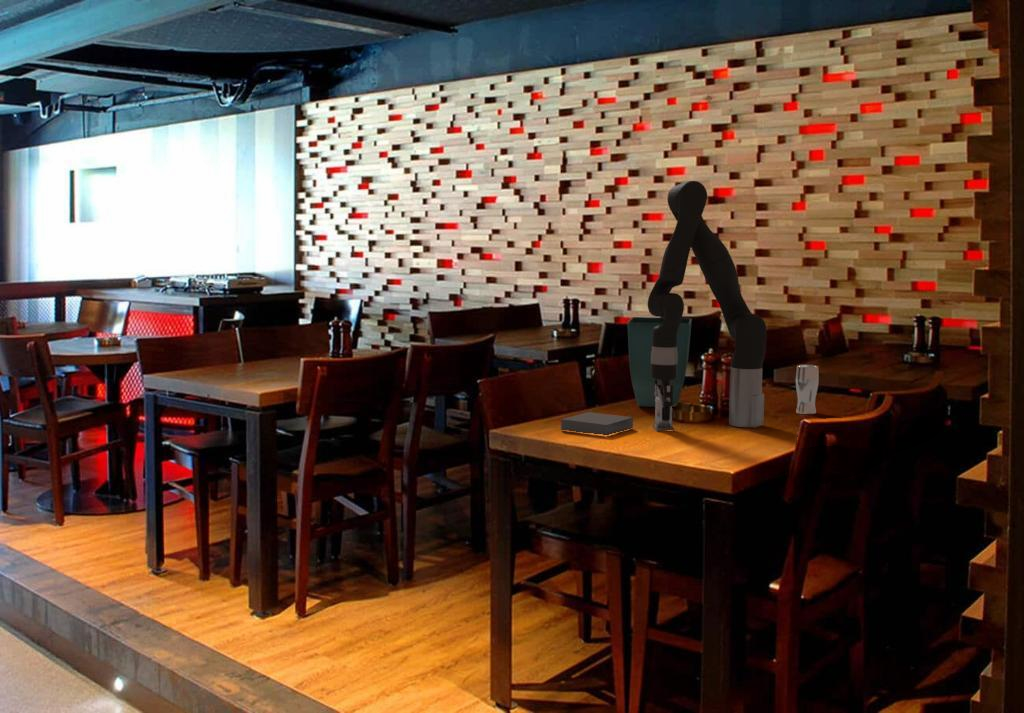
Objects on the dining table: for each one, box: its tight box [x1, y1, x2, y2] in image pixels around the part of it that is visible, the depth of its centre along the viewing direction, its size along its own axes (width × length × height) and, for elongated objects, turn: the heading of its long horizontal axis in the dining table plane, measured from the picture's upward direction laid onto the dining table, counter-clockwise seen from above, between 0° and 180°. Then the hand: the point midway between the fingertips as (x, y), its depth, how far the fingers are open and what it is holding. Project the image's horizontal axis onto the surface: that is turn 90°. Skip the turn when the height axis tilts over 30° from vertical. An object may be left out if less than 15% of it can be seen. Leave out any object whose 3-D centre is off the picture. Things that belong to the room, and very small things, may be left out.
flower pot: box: [627, 316, 693, 408], centre depth 337 cm, size 20×20×28 cm
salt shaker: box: [652, 393, 675, 432], centre depth 294 cm, size 5×5×11 cm
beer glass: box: [795, 364, 820, 415], centre depth 323 cm, size 7×7×15 cm
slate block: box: [560, 411, 634, 435], centre depth 294 cm, size 15×15×4 cm
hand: (662, 417), depth 295 cm, fingers open, 8 cm apart
